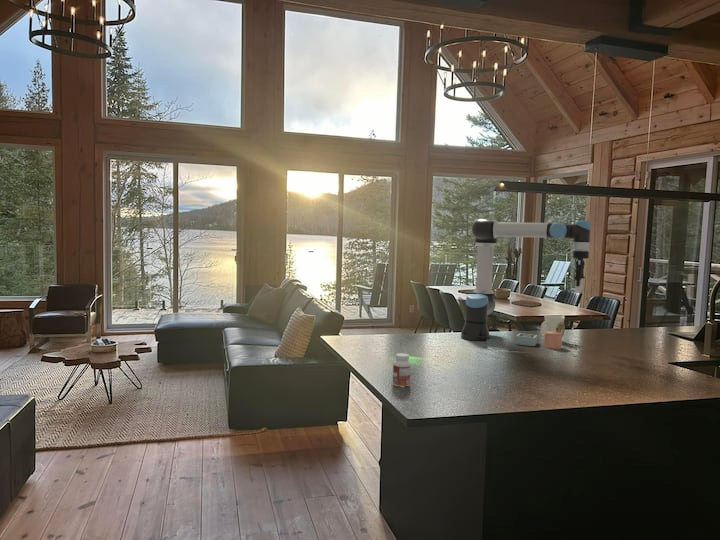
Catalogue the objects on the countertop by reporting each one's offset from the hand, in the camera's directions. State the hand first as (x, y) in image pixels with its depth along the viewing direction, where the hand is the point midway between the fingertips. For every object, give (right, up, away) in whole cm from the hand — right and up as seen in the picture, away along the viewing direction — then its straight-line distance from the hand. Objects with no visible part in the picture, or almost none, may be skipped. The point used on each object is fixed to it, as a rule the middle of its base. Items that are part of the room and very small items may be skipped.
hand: (578, 291), depth 272 cm
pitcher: (-10, -27, +11) cm, 31 cm away
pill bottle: (-98, -30, -84) cm, 133 cm away
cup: (-16, -28, -9) cm, 34 cm away
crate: (-28, -27, -2) cm, 39 cm away
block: (-28, -26, -2) cm, 38 cm away
